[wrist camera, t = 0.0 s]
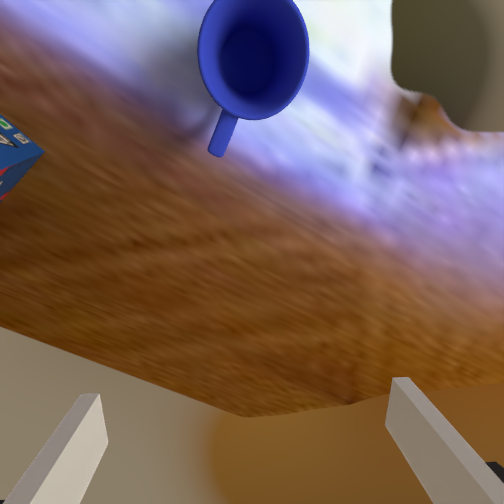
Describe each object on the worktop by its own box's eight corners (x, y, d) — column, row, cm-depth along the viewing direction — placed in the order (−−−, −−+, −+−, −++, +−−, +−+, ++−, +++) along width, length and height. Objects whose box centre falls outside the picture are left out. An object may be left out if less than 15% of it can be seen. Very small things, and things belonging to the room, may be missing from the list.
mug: (184, 119, 30) (166, 137, 22) (226, -11, 24) (224, -54, 16) (248, 152, 33) (255, 179, 24) (301, 40, 27) (332, 26, 19)
